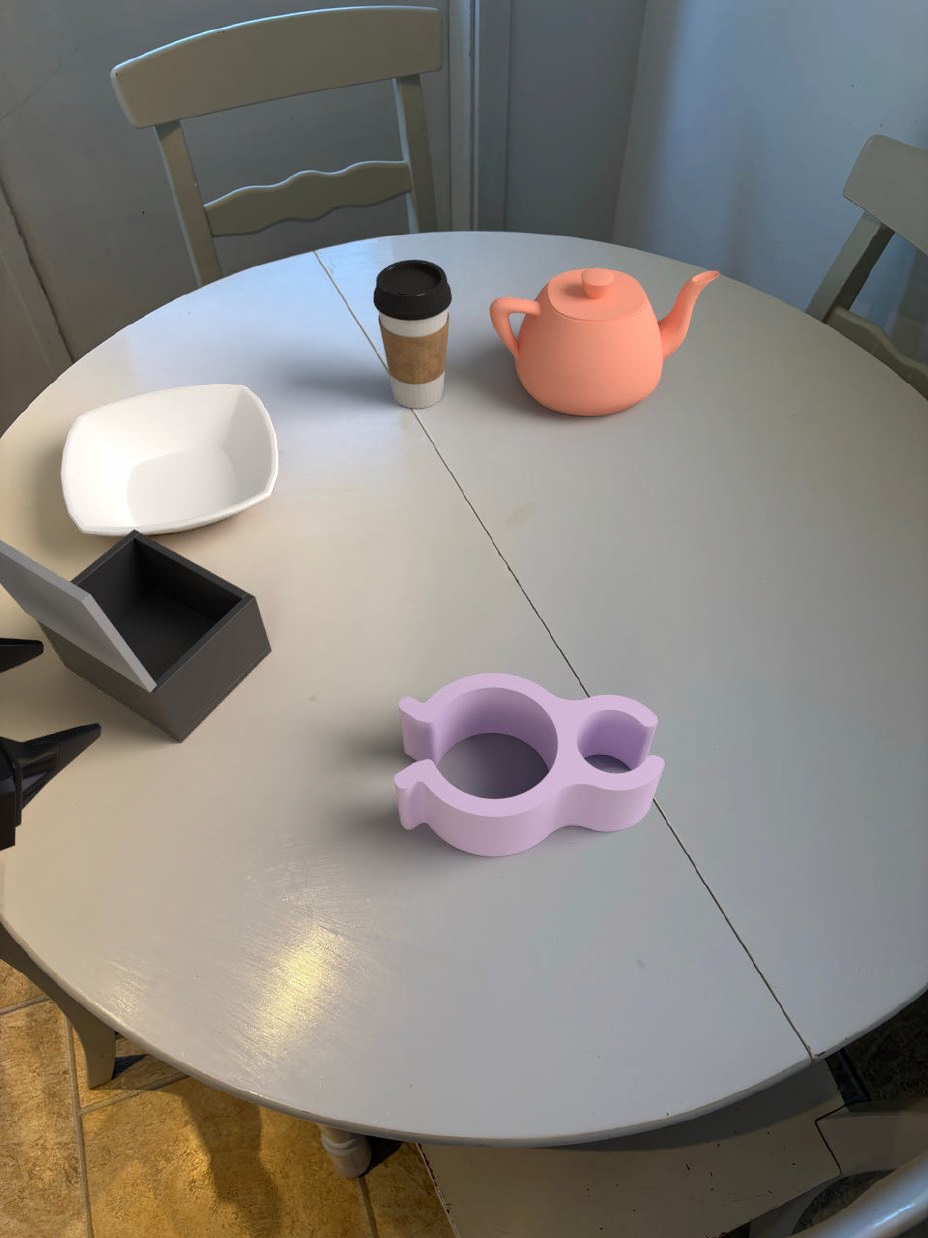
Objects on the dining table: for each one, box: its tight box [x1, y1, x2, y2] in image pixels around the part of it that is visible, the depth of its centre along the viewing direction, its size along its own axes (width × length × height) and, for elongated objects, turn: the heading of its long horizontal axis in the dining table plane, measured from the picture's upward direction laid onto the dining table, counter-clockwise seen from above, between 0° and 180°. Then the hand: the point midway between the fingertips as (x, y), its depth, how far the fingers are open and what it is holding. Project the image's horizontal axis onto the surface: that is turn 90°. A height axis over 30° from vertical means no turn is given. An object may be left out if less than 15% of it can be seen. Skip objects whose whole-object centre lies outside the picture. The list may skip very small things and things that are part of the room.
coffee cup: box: [372, 259, 453, 410], centre depth 98 cm, size 8×8×15 cm
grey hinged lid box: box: [35, 529, 272, 744], centre depth 78 cm, size 12×15×8 cm
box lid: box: [0, 539, 157, 692], centre depth 66 cm, size 12×15×1 cm
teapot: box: [489, 267, 721, 417], centre depth 100 cm, size 25×17×13 cm
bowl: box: [59, 383, 280, 537], centre depth 92 cm, size 22×22×5 cm
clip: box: [393, 672, 666, 858], centre depth 70 cm, size 20×12×7 cm, turn 90°
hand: (70, 686), depth 62 cm, fingers open, 9 cm apart
